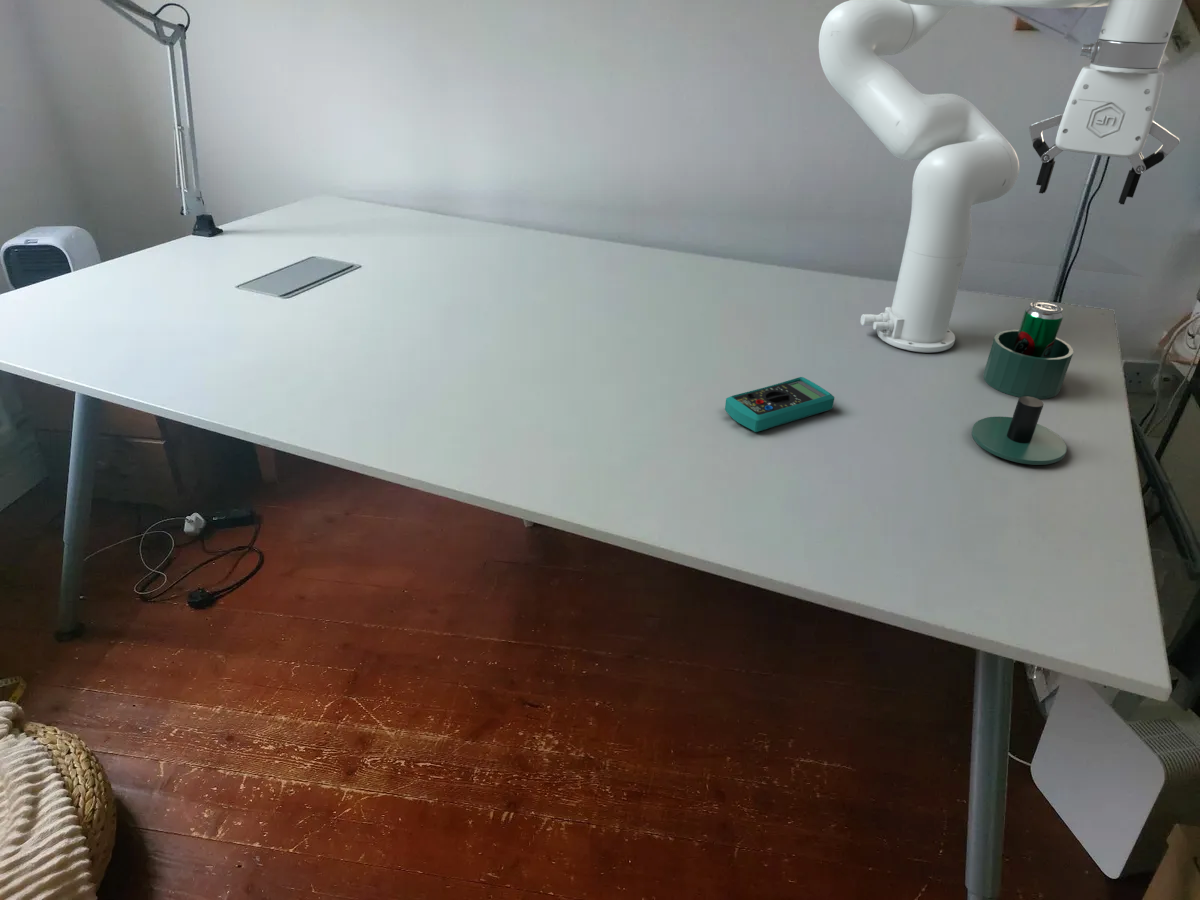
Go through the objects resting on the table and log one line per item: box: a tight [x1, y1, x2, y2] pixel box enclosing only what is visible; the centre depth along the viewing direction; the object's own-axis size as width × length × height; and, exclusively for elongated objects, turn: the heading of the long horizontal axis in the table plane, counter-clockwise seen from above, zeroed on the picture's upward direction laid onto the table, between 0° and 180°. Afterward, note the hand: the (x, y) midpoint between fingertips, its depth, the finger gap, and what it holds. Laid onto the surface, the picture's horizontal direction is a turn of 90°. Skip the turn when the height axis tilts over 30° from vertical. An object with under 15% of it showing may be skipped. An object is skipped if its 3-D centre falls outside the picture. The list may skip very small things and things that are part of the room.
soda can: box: [1013, 301, 1064, 358], centre depth 121 cm, size 5×5×12 cm
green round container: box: [982, 329, 1075, 400], centre depth 122 cm, size 11×11×6 cm
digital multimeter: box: [724, 376, 835, 433], centre depth 114 cm, size 7×15×3 cm, turn 119°
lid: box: [971, 396, 1068, 466], centre depth 106 cm, size 12×12×7 cm
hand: (1081, 196), depth 109 cm, fingers open, 9 cm apart
